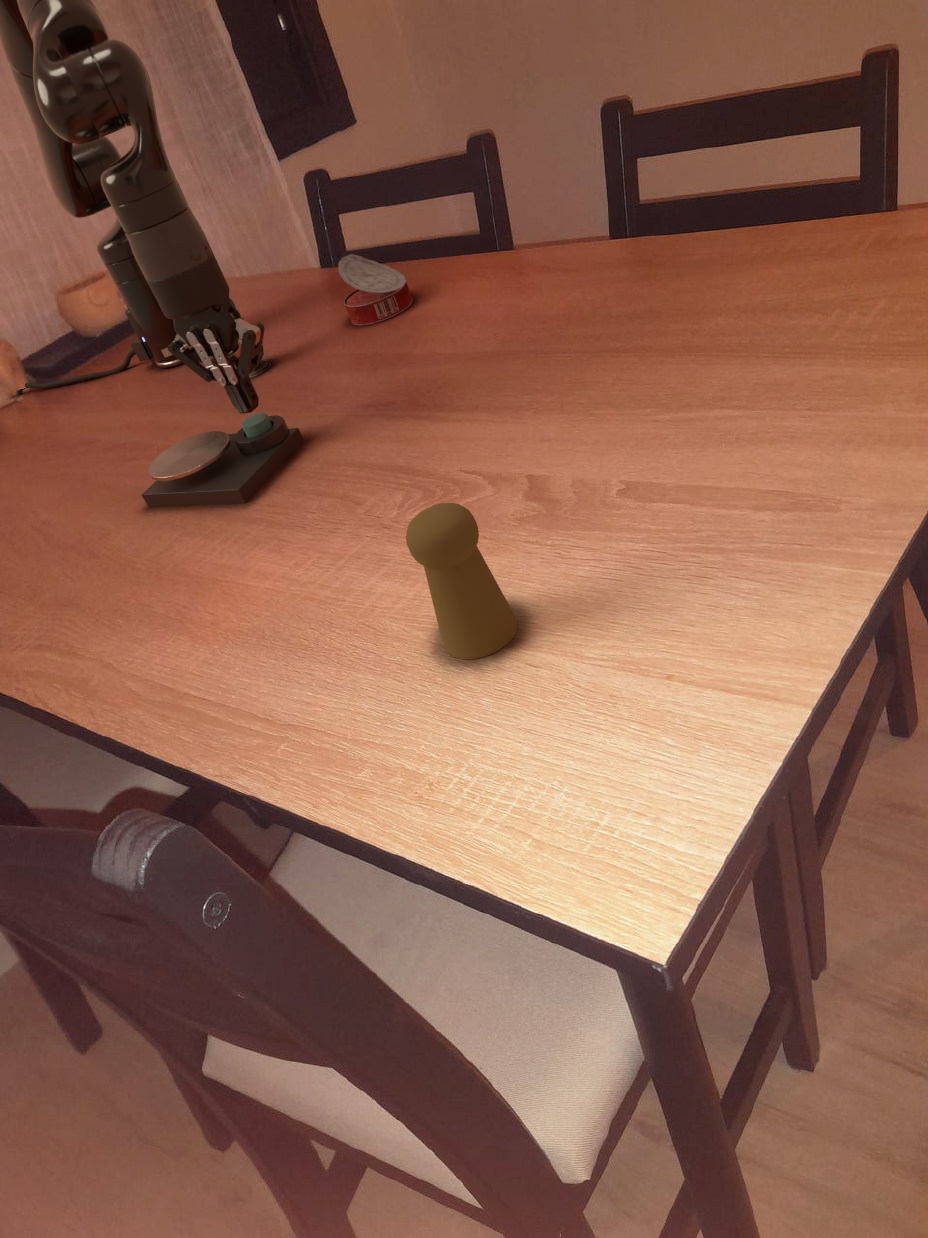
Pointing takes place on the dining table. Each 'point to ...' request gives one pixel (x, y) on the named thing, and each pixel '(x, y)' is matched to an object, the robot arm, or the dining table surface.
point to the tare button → (256, 425)
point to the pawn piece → (460, 582)
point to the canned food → (373, 290)
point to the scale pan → (189, 456)
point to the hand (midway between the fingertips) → (249, 409)
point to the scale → (231, 470)
